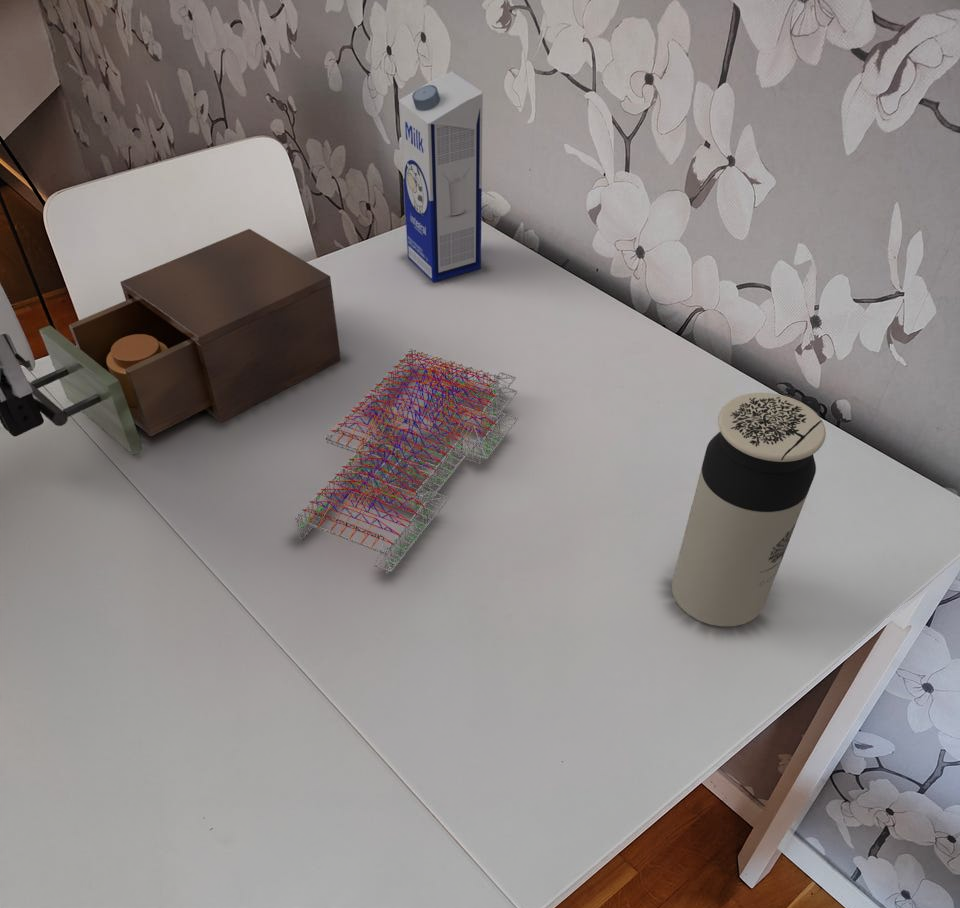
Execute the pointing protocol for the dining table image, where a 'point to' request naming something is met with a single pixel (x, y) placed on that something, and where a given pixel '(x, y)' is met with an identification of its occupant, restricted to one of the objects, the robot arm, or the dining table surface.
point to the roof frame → (411, 446)
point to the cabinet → (245, 316)
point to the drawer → (154, 381)
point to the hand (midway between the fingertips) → (25, 426)
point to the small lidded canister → (131, 358)
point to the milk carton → (443, 176)
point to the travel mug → (746, 506)
